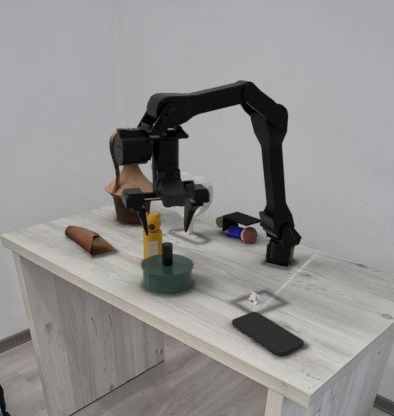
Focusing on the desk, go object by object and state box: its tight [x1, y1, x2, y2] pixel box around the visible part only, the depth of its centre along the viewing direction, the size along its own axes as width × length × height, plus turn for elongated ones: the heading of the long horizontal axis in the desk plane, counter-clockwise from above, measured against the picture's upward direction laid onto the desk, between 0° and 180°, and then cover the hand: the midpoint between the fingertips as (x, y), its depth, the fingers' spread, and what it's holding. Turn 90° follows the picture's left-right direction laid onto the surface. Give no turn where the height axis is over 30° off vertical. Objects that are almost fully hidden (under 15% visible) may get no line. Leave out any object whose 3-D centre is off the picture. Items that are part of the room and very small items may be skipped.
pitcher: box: [104, 126, 153, 226], centre depth 143 cm, size 18×17×28 cm
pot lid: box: [140, 241, 195, 277], centre depth 109 cm, size 13×13×6 cm
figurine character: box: [215, 211, 260, 245], centre depth 138 cm, size 7×8×15 cm
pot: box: [142, 270, 193, 295], centre depth 112 cm, size 12×12×5 cm
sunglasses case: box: [64, 225, 117, 258], centre depth 132 cm, size 18×7×7 cm
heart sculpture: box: [170, 171, 214, 239], centre depth 135 cm, size 16×5×18 cm, turn 45°
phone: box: [231, 311, 305, 356], centre depth 95 cm, size 7×1×15 cm
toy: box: [142, 211, 163, 260], centre depth 120 cm, size 5×5×13 cm
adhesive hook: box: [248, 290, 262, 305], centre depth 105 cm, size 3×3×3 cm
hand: (166, 233), depth 106 cm, fingers open, 9 cm apart
